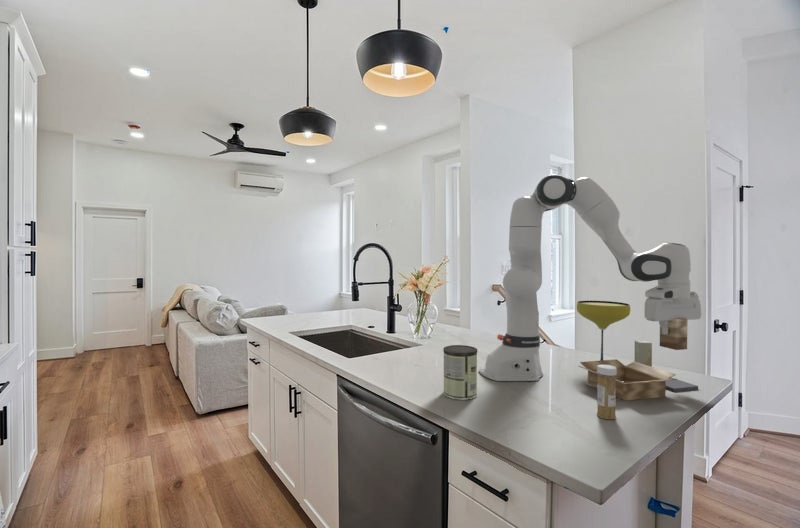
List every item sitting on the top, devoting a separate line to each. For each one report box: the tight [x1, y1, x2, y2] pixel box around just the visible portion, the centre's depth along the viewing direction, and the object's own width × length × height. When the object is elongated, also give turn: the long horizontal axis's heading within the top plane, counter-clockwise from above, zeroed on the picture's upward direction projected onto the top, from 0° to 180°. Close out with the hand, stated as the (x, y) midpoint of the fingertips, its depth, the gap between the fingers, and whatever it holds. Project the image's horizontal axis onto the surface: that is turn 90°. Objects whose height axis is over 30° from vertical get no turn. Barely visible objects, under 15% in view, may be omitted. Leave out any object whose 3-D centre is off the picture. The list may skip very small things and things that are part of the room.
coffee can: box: [442, 344, 478, 401], centre depth 121 cm, size 10×10×14 cm
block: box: [659, 318, 689, 351], centre depth 130 cm, size 4×6×10 cm
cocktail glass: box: [576, 300, 631, 361], centre depth 150 cm, size 18×18×25 cm
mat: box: [666, 377, 699, 392], centre depth 131 cm, size 10×10×1 cm
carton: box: [578, 359, 678, 401], centre depth 126 cm, size 23×23×6 cm
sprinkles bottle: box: [596, 365, 617, 420], centre depth 105 cm, size 5×5×13 cm
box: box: [634, 339, 653, 367], centre depth 147 cm, size 5×4×11 cm
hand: (673, 333), depth 130 cm, fingers closed on block, 4 cm apart
